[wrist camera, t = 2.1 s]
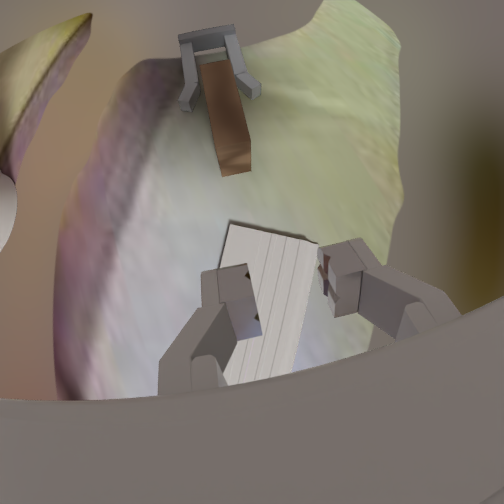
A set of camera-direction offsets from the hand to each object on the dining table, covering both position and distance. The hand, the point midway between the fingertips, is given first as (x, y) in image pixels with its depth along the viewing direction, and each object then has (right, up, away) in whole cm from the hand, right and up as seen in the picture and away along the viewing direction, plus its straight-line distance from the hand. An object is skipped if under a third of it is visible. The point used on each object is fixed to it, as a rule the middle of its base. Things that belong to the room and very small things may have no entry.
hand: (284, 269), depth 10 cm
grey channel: (-7, +28, +30) cm, 42 cm away
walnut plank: (-4, +16, +28) cm, 33 cm away
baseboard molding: (-1, -13, +25) cm, 28 cm away
